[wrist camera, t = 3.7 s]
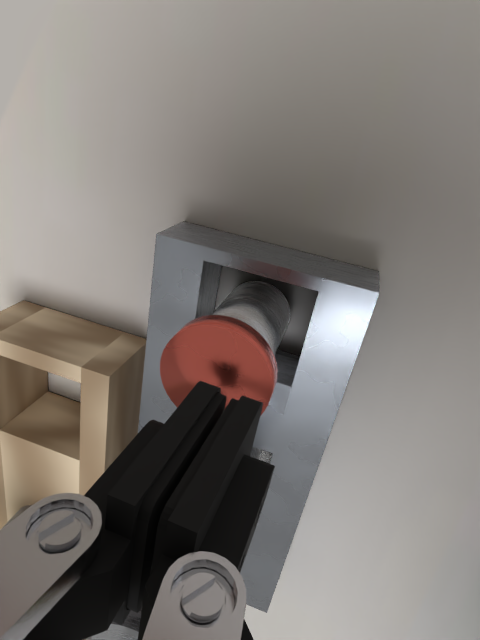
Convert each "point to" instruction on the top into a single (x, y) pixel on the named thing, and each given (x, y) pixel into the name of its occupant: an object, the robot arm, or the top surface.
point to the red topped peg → (230, 346)
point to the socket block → (293, 371)
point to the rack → (62, 403)
